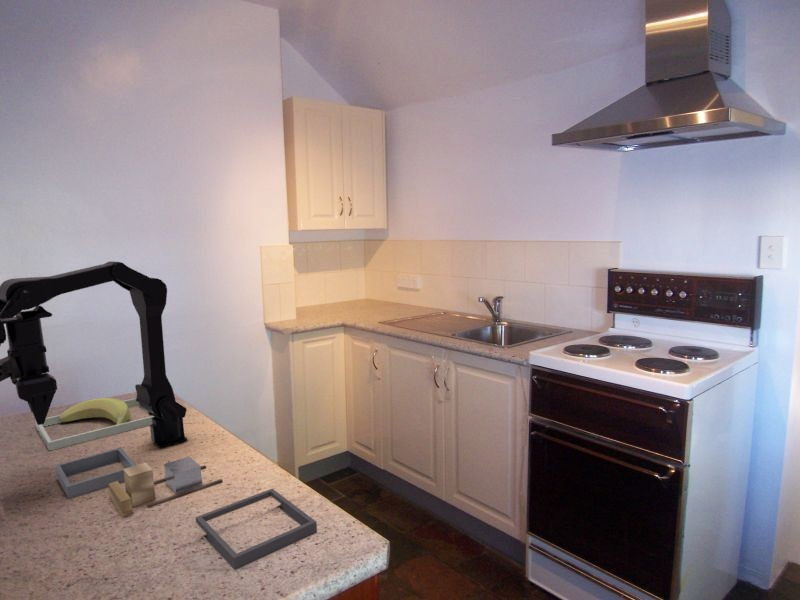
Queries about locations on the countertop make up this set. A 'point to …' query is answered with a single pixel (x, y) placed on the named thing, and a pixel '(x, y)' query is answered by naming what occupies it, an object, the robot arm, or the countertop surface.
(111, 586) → the countertop surface
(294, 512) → the dark grey square frame
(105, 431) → the fruit rim
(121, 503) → the track
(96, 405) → the banana
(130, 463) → the tray
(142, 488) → the block
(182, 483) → the grey small block
